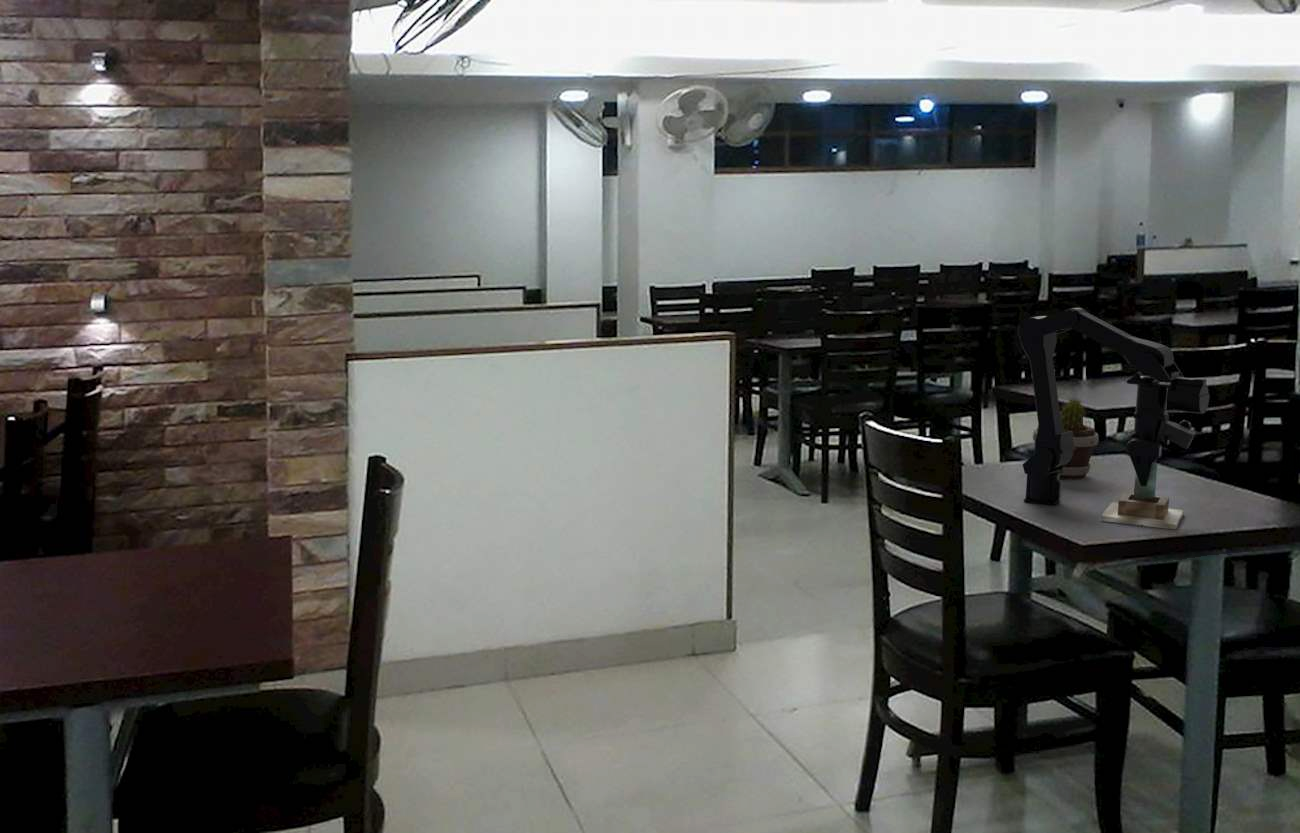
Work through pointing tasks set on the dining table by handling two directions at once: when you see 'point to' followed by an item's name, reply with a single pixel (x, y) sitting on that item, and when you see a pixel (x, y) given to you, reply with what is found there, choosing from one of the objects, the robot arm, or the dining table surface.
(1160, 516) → the socket board
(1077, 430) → the flowerpot
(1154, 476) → the peg
